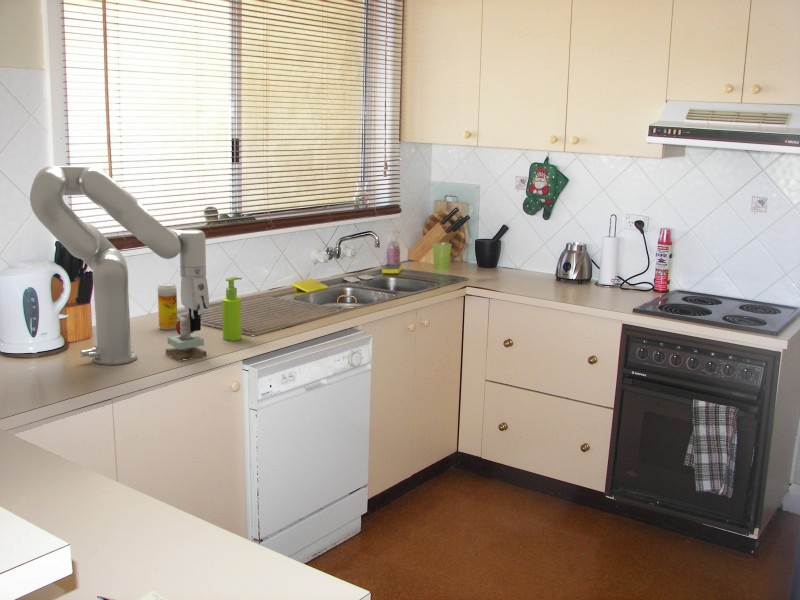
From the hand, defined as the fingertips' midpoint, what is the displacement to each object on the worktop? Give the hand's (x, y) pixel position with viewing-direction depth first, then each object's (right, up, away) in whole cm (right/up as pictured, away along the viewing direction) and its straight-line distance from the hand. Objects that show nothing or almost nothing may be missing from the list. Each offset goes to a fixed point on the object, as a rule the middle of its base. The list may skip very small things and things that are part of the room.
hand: (194, 330), depth 264 cm
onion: (-7, -3, +17) cm, 19 cm away
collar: (-2, -4, -1) cm, 5 cm away
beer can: (-16, 0, +29) cm, 33 cm away
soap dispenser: (+8, -3, +20) cm, 21 cm away
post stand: (-3, -7, 0) cm, 8 cm away
